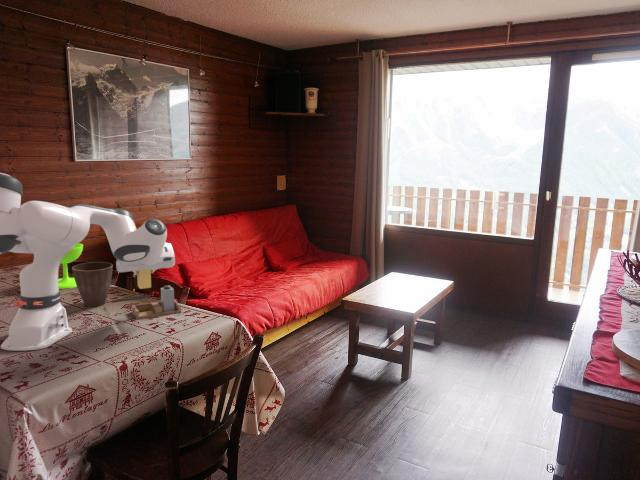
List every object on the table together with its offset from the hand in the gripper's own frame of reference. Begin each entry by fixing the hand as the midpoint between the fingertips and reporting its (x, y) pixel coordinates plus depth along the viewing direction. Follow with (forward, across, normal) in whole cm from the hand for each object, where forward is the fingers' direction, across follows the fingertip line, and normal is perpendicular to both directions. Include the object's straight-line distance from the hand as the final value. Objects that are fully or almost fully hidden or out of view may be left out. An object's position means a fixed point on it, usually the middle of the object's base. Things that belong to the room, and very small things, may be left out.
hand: (143, 272), depth 177 cm
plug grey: (+11, +8, -12) cm, 18 cm away
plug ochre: (+3, 0, -4) cm, 5 cm away
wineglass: (+56, -22, +30) cm, 67 cm away
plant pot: (+30, -14, +5) cm, 34 cm away
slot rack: (+12, +4, -13) cm, 18 cm away
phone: (+28, -1, +2) cm, 28 cm away
